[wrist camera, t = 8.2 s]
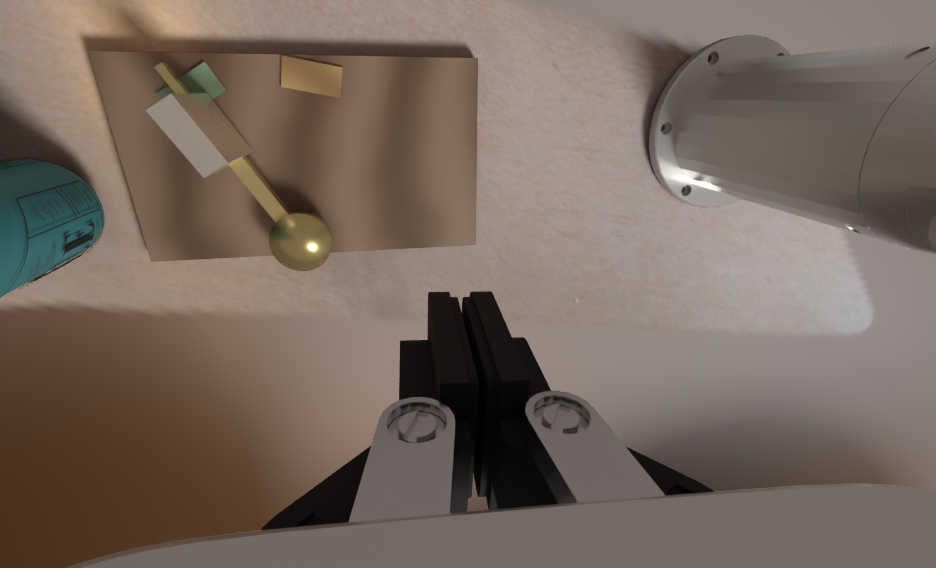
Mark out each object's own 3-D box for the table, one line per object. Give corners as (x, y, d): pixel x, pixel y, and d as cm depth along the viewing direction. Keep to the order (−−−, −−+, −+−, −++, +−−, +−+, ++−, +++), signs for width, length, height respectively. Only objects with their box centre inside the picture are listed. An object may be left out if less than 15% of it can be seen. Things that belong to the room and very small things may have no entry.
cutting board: (474, 59, 30) (480, 57, 28) (473, 240, 35) (477, 249, 33) (97, 52, 26) (76, 49, 24) (157, 256, 31) (144, 266, 30)
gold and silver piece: (345, 243, 32) (338, 268, 27) (299, 271, 32) (285, 301, 28) (197, 47, 26) (156, 38, 21) (142, 84, 26) (90, 82, 21)
